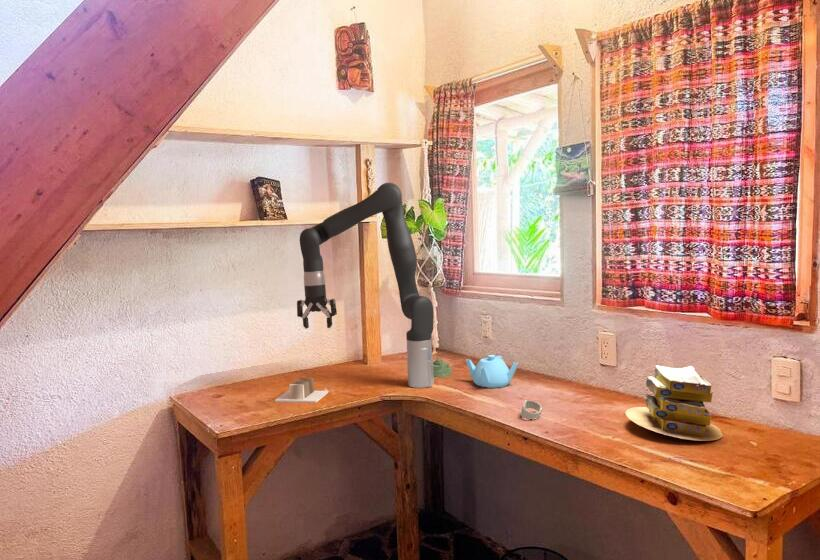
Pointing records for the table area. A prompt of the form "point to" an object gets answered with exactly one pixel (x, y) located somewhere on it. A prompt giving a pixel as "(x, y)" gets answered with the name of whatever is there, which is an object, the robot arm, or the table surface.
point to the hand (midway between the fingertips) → (318, 327)
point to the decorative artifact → (441, 368)
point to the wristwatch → (533, 405)
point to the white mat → (311, 398)
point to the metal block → (301, 388)
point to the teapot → (491, 372)
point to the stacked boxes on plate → (677, 405)
